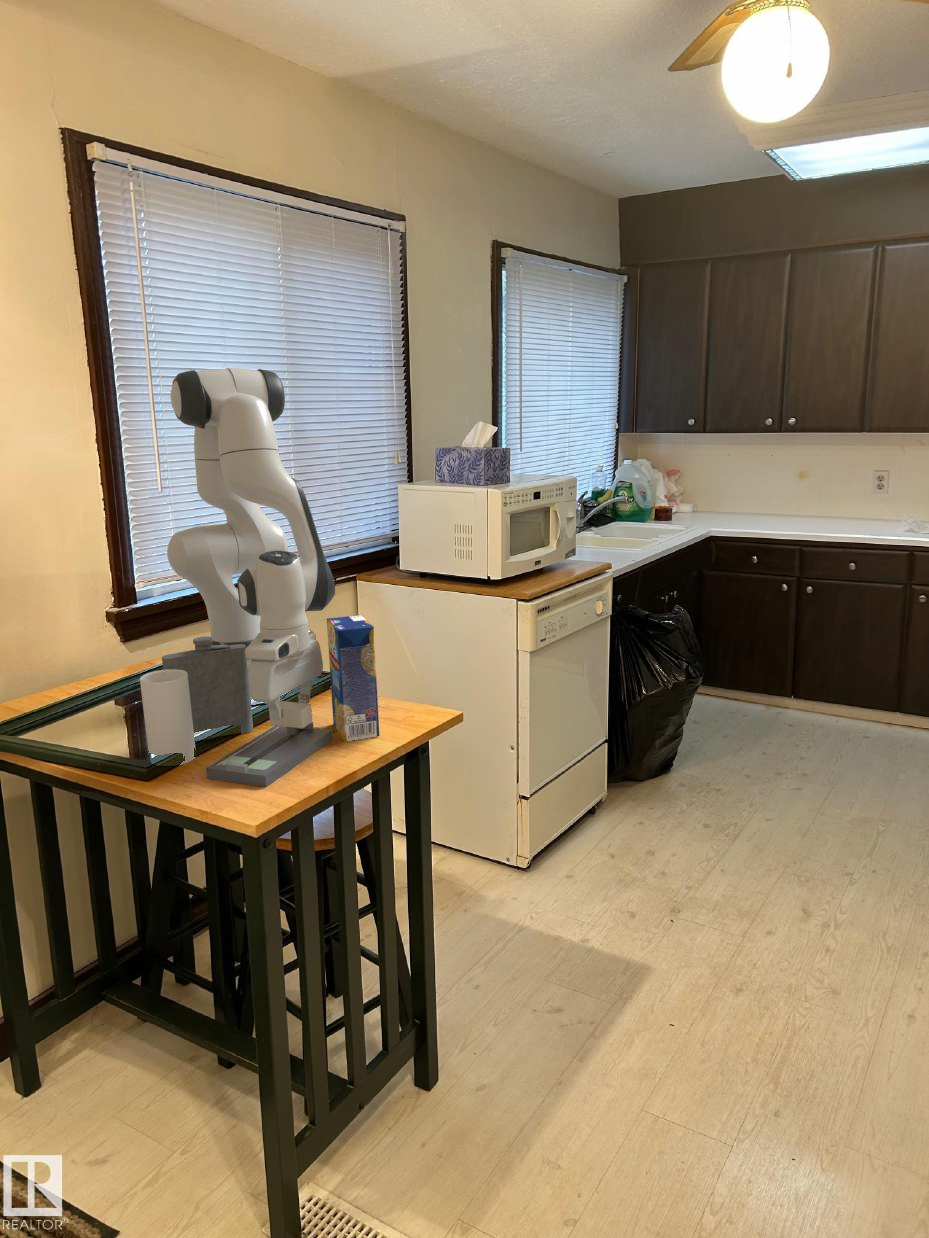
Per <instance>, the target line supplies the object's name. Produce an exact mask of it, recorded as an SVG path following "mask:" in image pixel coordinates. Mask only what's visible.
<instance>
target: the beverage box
mask: <svg viewBox="0 0 929 1238" xmlns="http://www.w3.org/2000/svg"><path fill="white" fill-rule="evenodd" d="M326 629H327V645H328V646H327V648H328V656H329V657H328V660H329V661H328V663H329V673H330V676H329V678H330V691H331V692H330V693H331V706H332V720H333V726H334V727H335V729H336V730H337V732H338V734H339V735H340V737H341V738H342V740H343V741H344V742H345V743H347V741H348V742H353V741H352V740H355V741H359V740H358V739H361V740H366V739H365V738H368V739H370V738H369V737H375V738H377V737H376V736H380V724H379V723H380V722H379V721H380V720H379V719H380V718H379V717H380V716H379V703H378V702H379V701H378V699H379V698H378V685H377V684H378V683H377V682H378V681H377V665H376V664H377V663H376V662H377V661H376V646H375V645H376V644H375V626H374V625H373V624H371V623H370V622H369V621H368V620H367V619H366V618H365V617H364V616H362V614H358V615H350V616H349V615H348V616H338V617H329V618H326Z"/></svg>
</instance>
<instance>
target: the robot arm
mask: <svg viewBox="0 0 929 1238" xmlns="http://www.w3.org/2000/svg"><path fill="white" fill-rule="evenodd" d="M284 388H285V387H284V385H283V382H282V379H281V378H280V377H279V376H278V374H277V373H276V372H273V371H271V370H268V369H261V368H258V369H256V370H255V369H248V368H239V367H238V368H237V367H235V368H234V367H226V368H219V369H217V368H216V369H215V368H214V369H206V370H205V369H203V370H199V371H196V370H192V369H191V370H187V371H186V370H185V371H182V372H180V373H178V374H176V376H175V377H174V379H173V380H172V385H171V390H170V402H171V406H172V409H173V411H174V414H175V416H176V418H177V419H178V420H179V421H180V422H181V423H182V424H184V425H187V426H191V427H194V435H193V437H194V438H193V451H194V452H193V453H194V465H195V477H196V488H197V489H196V491H197V493H198V496H199V497H200V498H201V499H202V501H204V502H205V503H206V504H208V505H209V506H211V507H215V508H217V509H219V510H222V511H223V512H224V514H225V517H226V523H219V524H210V525H200V526H199V525H198V526H193V527H191V528H186V529H183V530H180V531H178V532H175V533H174V534H173V535H172V536H171V538H170V539H169V542H168V544H167V551H166V556H167V561H168V563H169V565H170V567H171V569H172V570H173V571H174V573H175V574H176V575H177V576H179V577H181V578H182V579H184V580H185V581H187V582H189V583H190V584H191V585H192V586H193V587H195V588H196V590H197V592H198V593H199V594H200V595H201V597H202V600H203V601H204V604H205V606H206V612H207V616H208V618H207V619H208V625H209V633H210V637H212V640H213V642H212V643H211V644H212V646H214V645H228V644H229V645H236V644H244V645H246V651H245V653H246V658H247V664H248V679H249V689H250V698H251V700H252V699H253V700H254V701H256V702H266V703H265V704H266V706H267V707H268V710H269V709H270V711H271V717H272V719H273V720H280V719H282V718H283V717H284V714H283V713H284V710H283V709H281V708H280V706H279V704H278V702H280V701H281V700H280V696H282V695H284V694H286V693H288V692H289V691H290V692H292V691H294V690H295V689H297V688H299V687H300V690H299V694H298V695H297V699H298V701H297V703H306V704H310V702H311V692H312V689H313V688H312V687H313V679H315V678H317V677H319V676H321V675H322V674H323V671H324V663H323V662H324V661H323V657H322V650H321V649H322V648H321V646H320V643H319V641H318V640H317V635H316V633H314V631H313V630H312V629H310V627H309V619H308V616H307V613H306V612H321V611H323V610H325V608H327V606H328V605H329V604H330V603H331V601H332V600H333V598H334V597H335V595H336V584H335V583H336V582H335V579H334V576H333V573H332V570H331V568H330V566H329V562H328V561H327V558H326V556H325V553H324V550H323V546H322V544H321V541H320V537H319V534H318V531H317V527H316V525H315V521H314V518H313V515H312V511H311V508H310V504H309V503H308V500H307V497H306V493H305V491H304V489H303V487H302V485H301V483H300V482H299V480H298V479H295V478H293V477H292V476H291V475H290V474H289V473H288V472H287V470H286V469H285V466H284V465H283V463H282V459H281V457H280V452H279V446H278V441H277V440H278V439H277V433H276V430H275V427H274V422H275V421H276V420H279V418H280V417H281V415H282V414H283V413H284V410H285V404H286V403H285V402H286V394H285V389H284ZM260 505H261V506H264V507H267V508H270V509H273V510H275V511H277V512H278V513H280V514H281V515H283V516H284V518H286V520H287V522H288V523H289V527H290V529H291V533H292V536H293V539H294V542H295V546H296V548H297V552H298V555H299V556H298V555H297V554H295V553H294V552H292V551H288V548H289V546H288V545H289V543H288V538H287V535H286V533H285V531H284V530H283V528H282V527H281V526H280V525H279V524H278V523H276V522H275V521H274V520H272V519H271V518H269V516H267V514H265V513H264V511H263V510H262V508H261V507H260ZM233 575H240V576H239V577H238V579H237V582H236V583H237V587H235V584H234V582H233ZM291 690H292V691H291ZM290 692H289V693H290ZM289 693H288V694H289Z"/></svg>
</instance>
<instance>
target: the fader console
mask: <svg viewBox="0 0 929 1238" xmlns="http://www.w3.org/2000/svg"><path fill="white" fill-rule="evenodd" d="M332 730H333V729H326V728H317V727H314V722H313V721H312V723H310V724H309V725H307V726H306V727H304V728H297V732H296V733H294V734H287V727H285V726H277V725H273V727H270V728H269V729H267V730H266V731H264V732H263V733H261V734H259V735H258V736H255V737H254V738H253V739H251V740H249V741H248V742H246V743H244V744H243V745H241V746H240V747H238V748H236V749H235V750H233V751H232V752H230V753H228V754H227V755H225V756H224V757H222V758H220V759H219V760H217V761H215V762H214V763H212V764H210V765H208V766H207V767H206V768H205V769H206V770H205V771H206V779H208V780H212V781H213V780H214V781H221V782H228V783H236V784H242V785H249V786H255V787H256V786H257V787H261V788H262V787H263V788H266V787H269V785H272V784H273V783H274V782H276V781H277V780H278V779H280V778H281V777H282V776H285V774H287V773H288V772H289V771H291V770H292V769H294V768H295V767H296V766H298V765H299V764H301V763H302V762H303V761H305V760H306V759H308V758H310V756H312V755H313V754H315V753H316V752H317V751H319V750H320V749H322V748H323V747H324V746H326V745H327V744H328V743H330V742H332V741H333V731H332Z"/></svg>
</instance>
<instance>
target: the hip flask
mask: <svg viewBox="0 0 929 1238" xmlns="http://www.w3.org/2000/svg"><path fill="white" fill-rule="evenodd" d="M212 642H213V640H212V637H211V636H206V635H205V636H198V637H194V638H193V639H192V644H193V645H194V649H192V650H185V651H180V652H179V651H178V652H173V653H170V654H165V655H163V656H161V664H162V665H161V666H162V670H169V669H177V670H183V671H186V672H187V674H188V683H189V692H190V702H191V711H192V721H193V730H194V733H195V732H199V731H204V730H207V729H213V728H219V727H222V726H228V725H239V726H240V727H241V734H240V735H242V734H250V733H252V732H254V722H253V711H252V710H253V709H252V706H251V698H250V689H249V679H248V664H247V658H246V653H245V651H246V645H244V644H236V645H229V644H228V645H214V646H212V644H211V643H212Z"/></svg>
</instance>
